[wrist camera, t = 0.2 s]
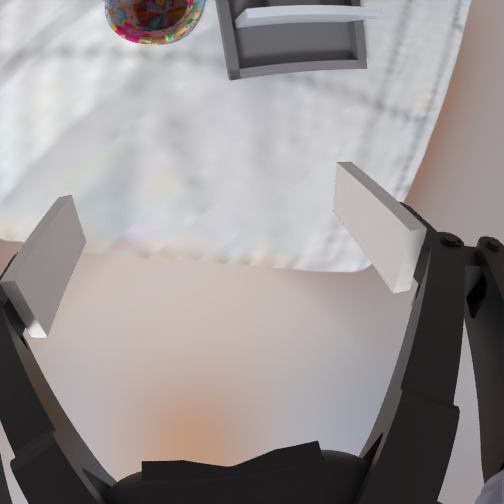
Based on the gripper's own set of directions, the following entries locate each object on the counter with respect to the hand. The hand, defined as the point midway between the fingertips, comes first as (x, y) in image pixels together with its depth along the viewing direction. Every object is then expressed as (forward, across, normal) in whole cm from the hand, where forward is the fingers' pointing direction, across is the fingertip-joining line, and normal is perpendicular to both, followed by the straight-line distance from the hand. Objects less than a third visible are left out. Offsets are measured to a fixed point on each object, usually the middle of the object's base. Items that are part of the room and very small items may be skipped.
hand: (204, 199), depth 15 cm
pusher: (+26, +11, +14) cm, 32 cm away
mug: (+27, -4, +14) cm, 31 cm away
